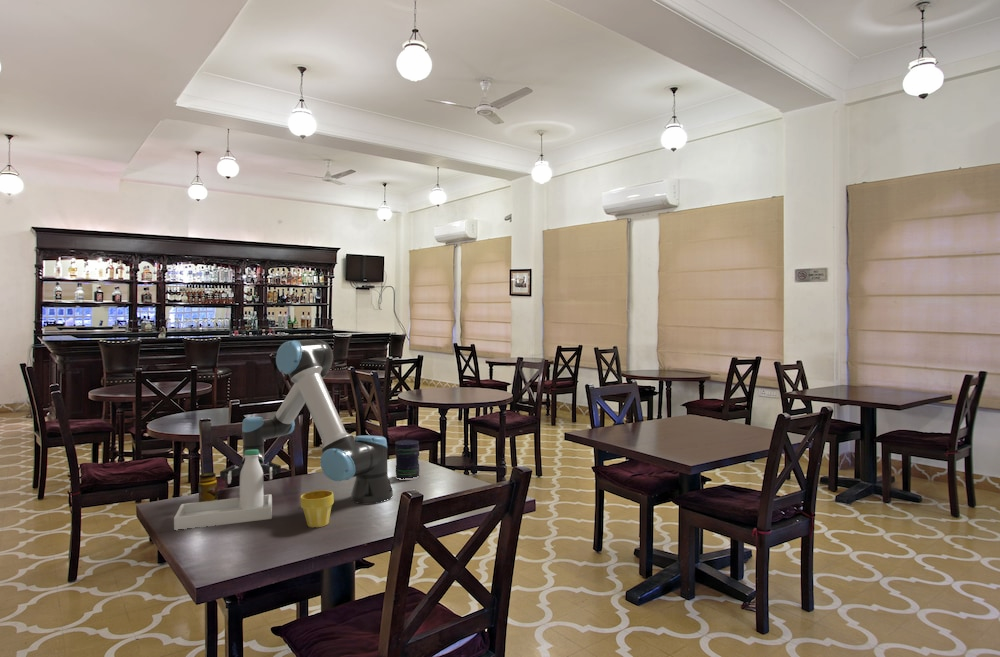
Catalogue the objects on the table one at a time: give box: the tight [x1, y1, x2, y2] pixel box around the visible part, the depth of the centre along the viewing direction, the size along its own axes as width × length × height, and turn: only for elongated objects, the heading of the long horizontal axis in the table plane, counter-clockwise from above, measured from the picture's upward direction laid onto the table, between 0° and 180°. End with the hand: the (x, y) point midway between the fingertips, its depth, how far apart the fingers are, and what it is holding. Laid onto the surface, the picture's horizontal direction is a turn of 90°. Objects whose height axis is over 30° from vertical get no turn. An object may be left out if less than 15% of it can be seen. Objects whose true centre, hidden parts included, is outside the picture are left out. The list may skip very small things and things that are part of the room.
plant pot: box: [300, 489, 335, 528], centre depth 196 cm, size 10×10×10 cm
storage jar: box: [394, 439, 420, 479], centre depth 252 cm, size 10×10×15 cm
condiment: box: [197, 471, 218, 502], centre depth 217 cm, size 7×8×12 cm
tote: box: [173, 493, 273, 531], centre depth 205 cm, size 29×16×4 cm, turn 110°
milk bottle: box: [239, 449, 265, 509], centre depth 211 cm, size 8×8×20 cm
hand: (250, 477), depth 204 cm, fingers open, 12 cm apart
